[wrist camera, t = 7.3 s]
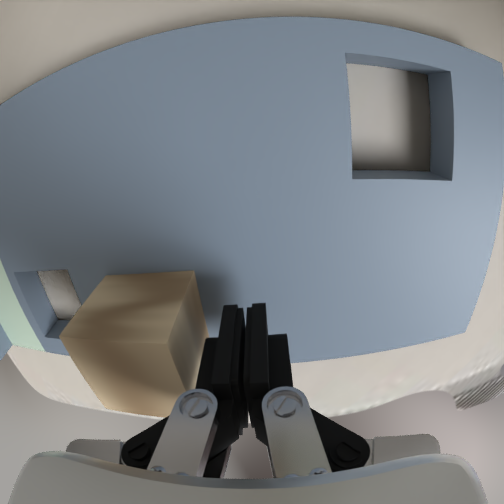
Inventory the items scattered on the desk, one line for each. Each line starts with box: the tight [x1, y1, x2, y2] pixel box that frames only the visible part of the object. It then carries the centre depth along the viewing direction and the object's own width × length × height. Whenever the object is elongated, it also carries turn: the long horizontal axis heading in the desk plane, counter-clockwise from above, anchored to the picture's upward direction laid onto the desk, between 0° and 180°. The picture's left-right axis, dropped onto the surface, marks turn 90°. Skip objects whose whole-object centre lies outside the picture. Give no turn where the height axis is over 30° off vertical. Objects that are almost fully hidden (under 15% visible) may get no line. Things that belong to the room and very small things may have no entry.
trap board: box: [0, 17, 504, 363], centre depth 11 cm, size 34×16×4 cm, turn 95°
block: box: [59, 270, 209, 417], centre depth 11 cm, size 4×4×4 cm
